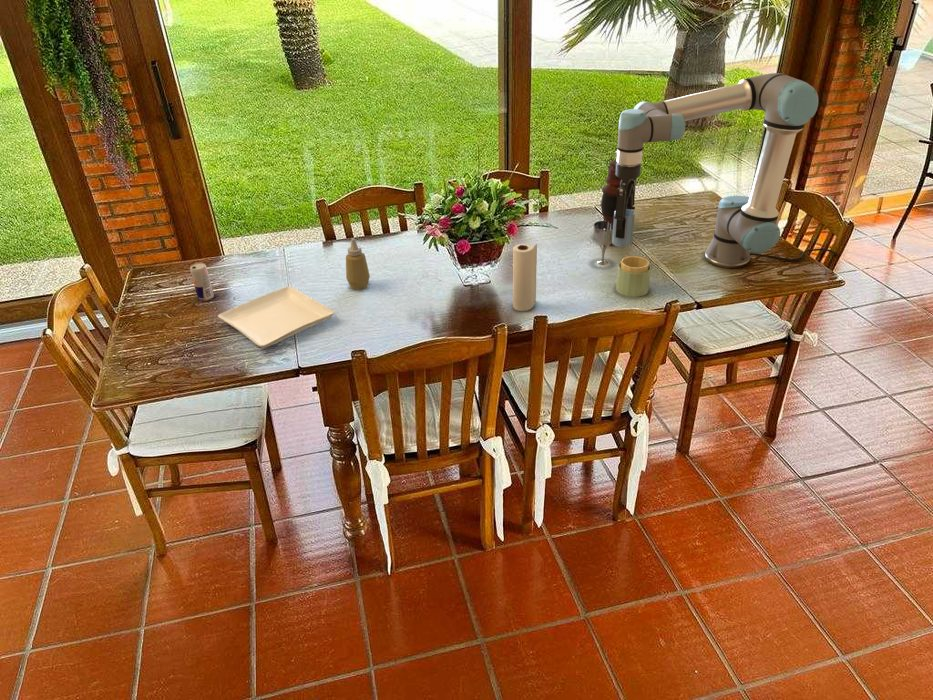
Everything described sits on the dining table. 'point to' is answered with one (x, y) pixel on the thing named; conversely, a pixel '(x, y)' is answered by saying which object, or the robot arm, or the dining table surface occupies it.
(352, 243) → the squeeze bottle
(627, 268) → the middle cup
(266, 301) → the square plate
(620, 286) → the stack base cup
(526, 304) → the paper towel roll
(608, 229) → the wine glass
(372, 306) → the dining table surface
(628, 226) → the top cup
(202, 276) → the energy drink
